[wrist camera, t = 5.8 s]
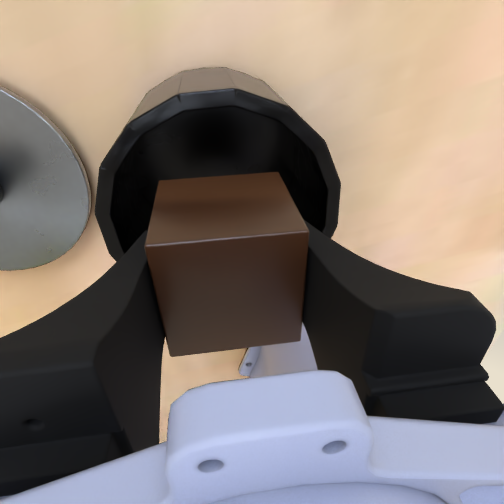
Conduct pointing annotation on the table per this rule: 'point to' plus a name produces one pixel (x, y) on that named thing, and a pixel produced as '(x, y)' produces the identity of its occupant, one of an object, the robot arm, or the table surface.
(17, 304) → the table surface
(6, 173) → the lid
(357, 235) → the table surface
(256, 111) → the black round pot
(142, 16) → the table surface
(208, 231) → the block
